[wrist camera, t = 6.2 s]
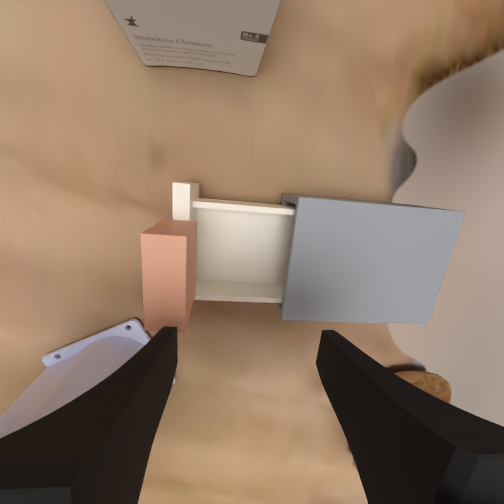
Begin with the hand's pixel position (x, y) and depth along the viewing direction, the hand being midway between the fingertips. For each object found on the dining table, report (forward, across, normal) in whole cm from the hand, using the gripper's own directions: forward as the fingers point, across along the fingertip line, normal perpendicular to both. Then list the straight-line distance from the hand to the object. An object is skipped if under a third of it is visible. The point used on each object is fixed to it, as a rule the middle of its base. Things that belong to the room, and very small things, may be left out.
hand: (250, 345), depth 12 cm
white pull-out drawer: (+10, -1, -2) cm, 11 cm away
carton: (+11, -9, -2) cm, 14 cm away
